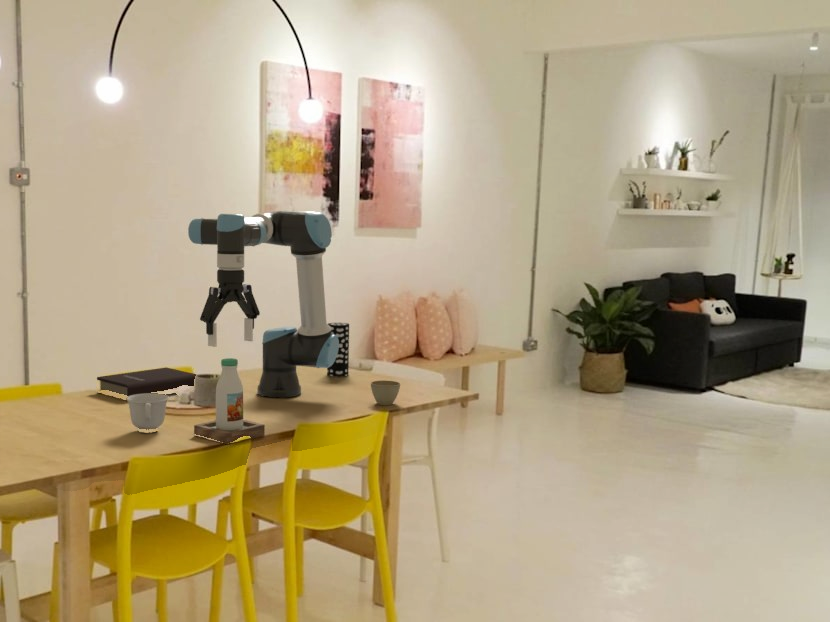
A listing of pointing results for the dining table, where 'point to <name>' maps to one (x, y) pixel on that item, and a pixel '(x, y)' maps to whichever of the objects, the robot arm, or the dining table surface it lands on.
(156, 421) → the teacup
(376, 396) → the bowl
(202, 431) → the brown wooden square tray
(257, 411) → the dining table surface
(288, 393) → the robot arm
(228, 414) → the milk bottle
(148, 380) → the book
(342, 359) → the white-spotted black cylinder
